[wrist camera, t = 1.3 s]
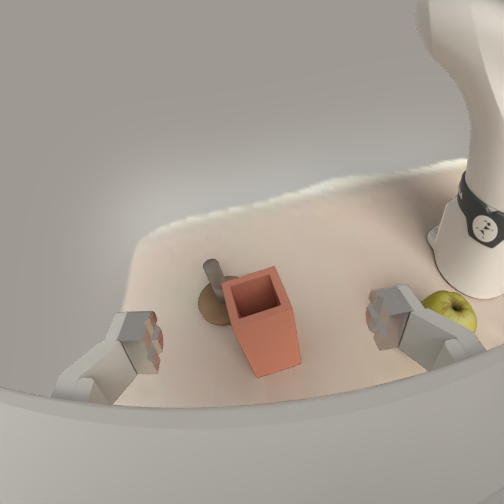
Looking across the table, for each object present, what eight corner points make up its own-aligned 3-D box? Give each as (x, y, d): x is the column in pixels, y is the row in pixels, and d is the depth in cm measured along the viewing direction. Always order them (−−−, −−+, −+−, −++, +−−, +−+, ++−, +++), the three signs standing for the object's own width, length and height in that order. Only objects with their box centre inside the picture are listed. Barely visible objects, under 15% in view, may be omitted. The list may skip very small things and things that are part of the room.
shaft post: (232, 272, 48) (218, 234, 42) (265, 300, 43) (254, 262, 37) (190, 302, 45) (170, 266, 40) (220, 335, 40) (201, 301, 35)
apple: (443, 384, 28) (476, 345, 21) (392, 354, 33) (410, 308, 26) (467, 335, 31) (496, 288, 24) (420, 309, 36) (438, 258, 29)
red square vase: (301, 363, 35) (292, 308, 27) (257, 377, 35) (232, 328, 26) (287, 327, 39) (274, 265, 31) (246, 340, 39) (221, 283, 31)
